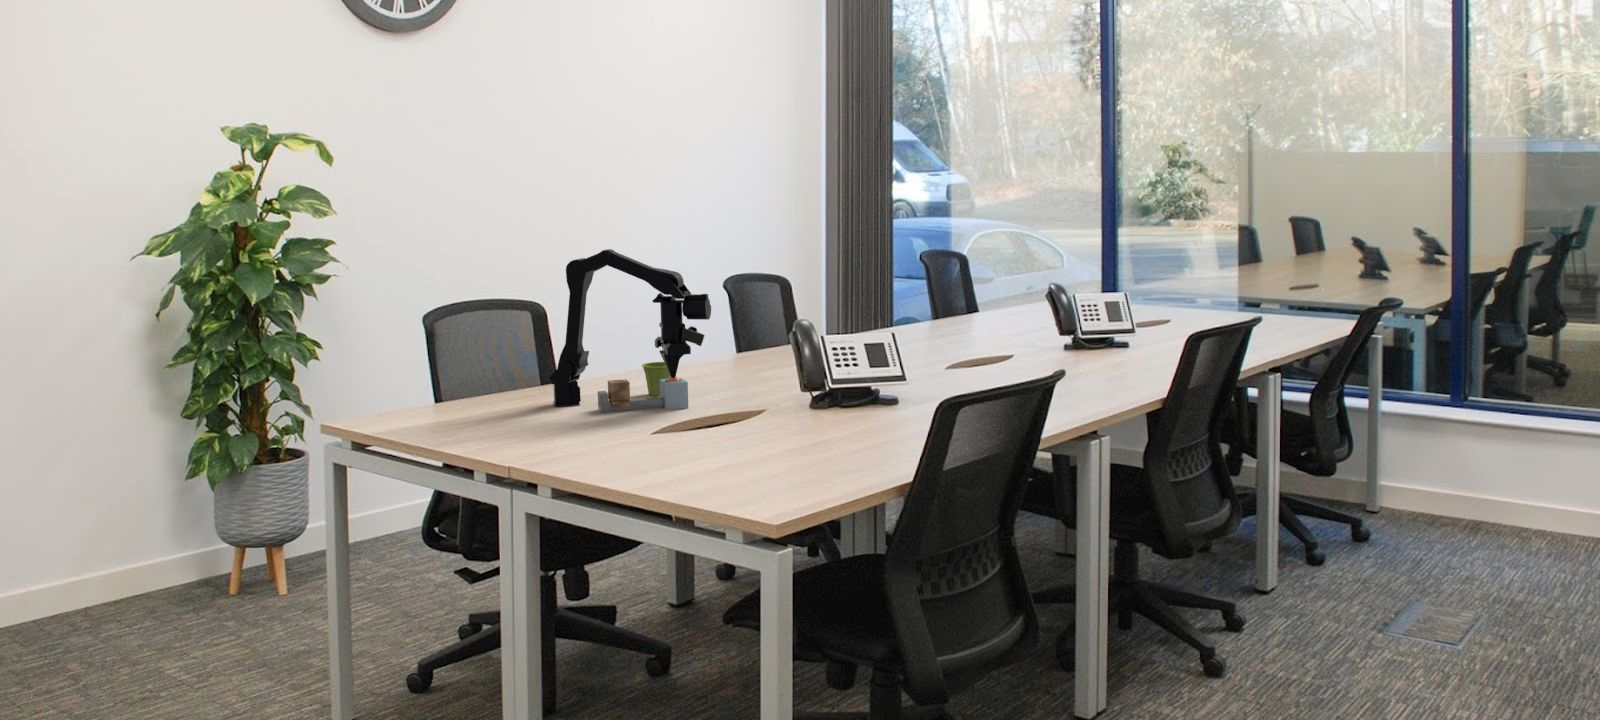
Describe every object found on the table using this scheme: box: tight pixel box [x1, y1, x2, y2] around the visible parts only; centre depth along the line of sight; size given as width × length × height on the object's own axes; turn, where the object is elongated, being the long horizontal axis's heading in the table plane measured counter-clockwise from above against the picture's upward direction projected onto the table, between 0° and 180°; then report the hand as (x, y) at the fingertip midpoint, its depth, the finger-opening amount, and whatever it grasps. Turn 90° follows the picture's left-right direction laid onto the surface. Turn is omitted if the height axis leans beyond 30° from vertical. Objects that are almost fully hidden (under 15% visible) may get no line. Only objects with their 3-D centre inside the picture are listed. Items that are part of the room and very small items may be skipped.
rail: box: [597, 390, 665, 414], centre depth 364 cm, size 18×5×5 cm, turn 106°
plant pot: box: [641, 361, 671, 397], centre depth 387 cm, size 9×9×9 cm
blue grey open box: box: [659, 377, 689, 411], centre depth 367 cm, size 6×8×7 cm
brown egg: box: [668, 376, 680, 382], centre depth 367 cm, size 3×3×4 cm
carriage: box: [607, 378, 631, 408], centre depth 363 cm, size 5×5×6 cm
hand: (673, 377), depth 366 cm, fingers closed, pressing on brown egg
